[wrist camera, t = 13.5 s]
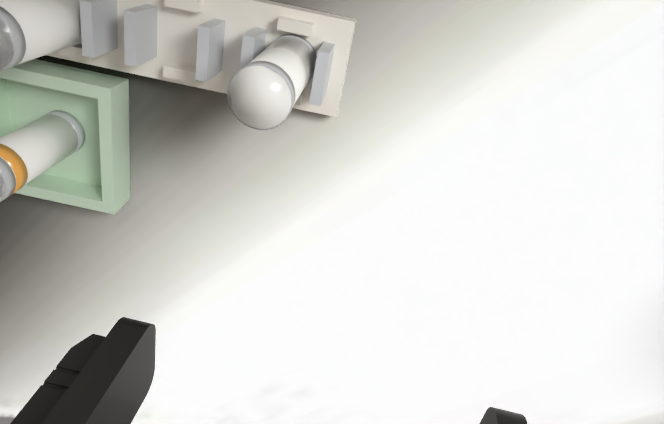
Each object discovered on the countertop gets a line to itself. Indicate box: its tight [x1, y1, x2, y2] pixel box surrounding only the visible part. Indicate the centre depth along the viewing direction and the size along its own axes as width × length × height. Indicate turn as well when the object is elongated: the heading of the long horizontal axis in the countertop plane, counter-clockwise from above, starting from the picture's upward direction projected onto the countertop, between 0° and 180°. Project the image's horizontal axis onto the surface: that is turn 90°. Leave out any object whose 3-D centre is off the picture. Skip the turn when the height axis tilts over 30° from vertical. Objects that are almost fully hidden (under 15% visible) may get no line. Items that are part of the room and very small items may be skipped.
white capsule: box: [227, 34, 317, 130], centre depth 33 cm, size 4×4×10 cm
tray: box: [0, 59, 130, 214], centre depth 43 cm, size 11×11×3 cm
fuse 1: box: [0, 0, 82, 71], centre depth 33 cm, size 4×4×10 cm
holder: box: [47, 0, 357, 117], centre depth 37 cm, size 7×24×5 cm, turn 79°
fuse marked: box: [0, 110, 85, 202], centre depth 39 cm, size 4×4×10 cm
